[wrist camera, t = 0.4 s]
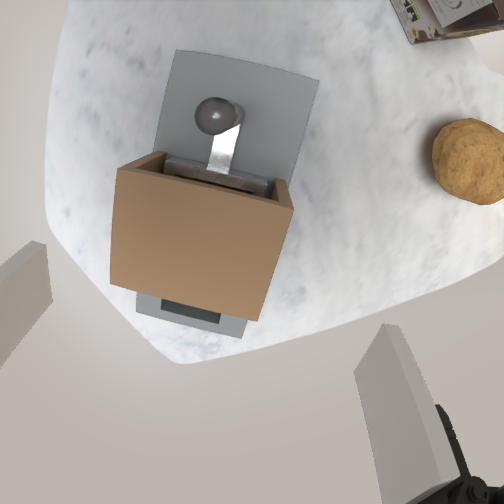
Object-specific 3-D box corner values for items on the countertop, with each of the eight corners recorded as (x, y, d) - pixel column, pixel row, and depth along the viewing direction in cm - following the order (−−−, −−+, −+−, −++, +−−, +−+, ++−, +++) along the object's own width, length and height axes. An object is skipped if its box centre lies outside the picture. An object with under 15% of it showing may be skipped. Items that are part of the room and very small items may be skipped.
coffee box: (410, 46, 25) (500, 20, 11) (388, -3, 23) (461, -55, 8) (466, 39, 24) (557, 25, 9) (446, -7, 21) (527, -40, 7)
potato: (495, 194, 32) (531, 215, 25) (412, 192, 33) (446, 215, 26) (500, 124, 28) (540, 133, 21) (414, 110, 29) (452, 114, 22)
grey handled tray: (186, 93, 26) (145, 85, 16) (284, 115, 27) (297, 116, 17) (159, 242, 33) (120, 298, 23) (243, 263, 34) (235, 328, 24)
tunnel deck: (183, 54, 27) (140, 27, 16) (314, 83, 28) (343, 67, 17) (143, 299, 41) (108, 362, 29) (243, 324, 42) (236, 396, 30)
